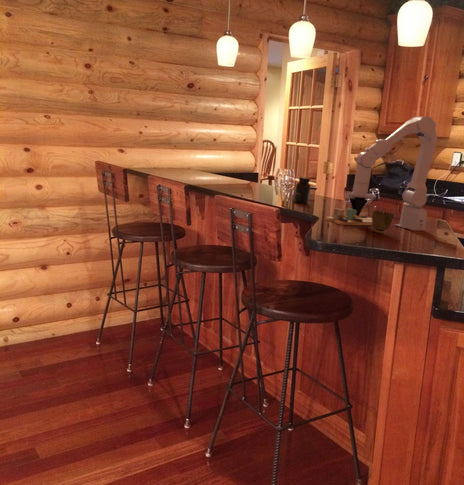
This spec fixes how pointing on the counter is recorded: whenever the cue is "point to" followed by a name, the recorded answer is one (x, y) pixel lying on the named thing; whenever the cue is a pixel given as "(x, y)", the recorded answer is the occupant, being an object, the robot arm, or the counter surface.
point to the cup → (381, 221)
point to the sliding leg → (351, 214)
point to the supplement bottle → (302, 191)
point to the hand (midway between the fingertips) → (355, 216)
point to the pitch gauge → (342, 220)
